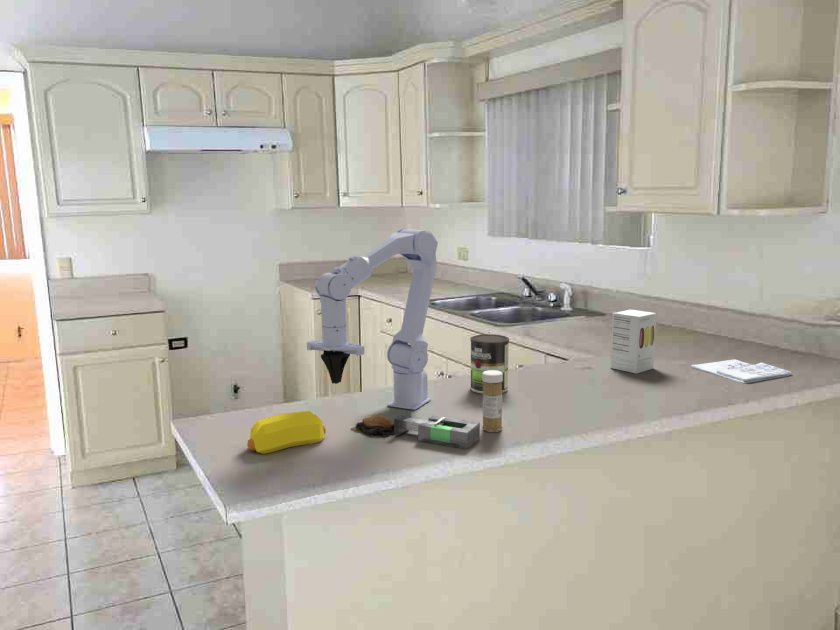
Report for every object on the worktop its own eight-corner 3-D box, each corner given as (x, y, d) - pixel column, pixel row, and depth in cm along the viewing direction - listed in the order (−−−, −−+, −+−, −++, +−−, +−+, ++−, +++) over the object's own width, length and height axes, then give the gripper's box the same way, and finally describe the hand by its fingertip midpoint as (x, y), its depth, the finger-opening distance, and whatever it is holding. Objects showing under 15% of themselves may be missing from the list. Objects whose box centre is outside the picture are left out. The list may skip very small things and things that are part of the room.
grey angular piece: (406, 426, 167) (406, 410, 167) (447, 432, 163) (447, 416, 162) (394, 434, 162) (393, 418, 161) (435, 441, 158) (435, 425, 157)
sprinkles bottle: (490, 424, 169) (490, 368, 166) (506, 429, 166) (506, 371, 163) (478, 429, 166) (478, 372, 163) (494, 434, 163) (494, 376, 160)
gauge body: (432, 430, 165) (432, 415, 165) (479, 438, 160) (479, 422, 160) (418, 441, 159) (418, 425, 158) (467, 449, 154) (467, 432, 153)
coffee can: (493, 396, 190) (493, 344, 188) (462, 389, 197) (462, 338, 195) (516, 388, 198) (516, 337, 195) (486, 381, 205) (486, 332, 202)
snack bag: (743, 386, 199) (744, 378, 199) (688, 368, 217) (689, 361, 217) (793, 377, 207) (793, 370, 206) (736, 361, 225) (736, 354, 225)
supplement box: (636, 374, 210) (639, 316, 207) (609, 368, 217) (611, 312, 214) (654, 368, 216) (657, 312, 213) (627, 362, 223) (629, 308, 220)
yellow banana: (333, 442, 160) (318, 432, 166) (332, 412, 158) (317, 404, 165) (253, 459, 150) (241, 448, 157) (252, 428, 149) (239, 418, 156)
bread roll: (347, 432, 167) (347, 417, 166) (373, 422, 173) (372, 407, 173) (382, 442, 160) (381, 426, 160) (407, 431, 167) (406, 416, 166)
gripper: (298, 326, 167) (300, 383, 170) (352, 331, 161) (354, 390, 164) (315, 320, 174) (317, 375, 176) (368, 325, 167) (370, 382, 170)
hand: (336, 382), depth 170 cm, fingers closed
